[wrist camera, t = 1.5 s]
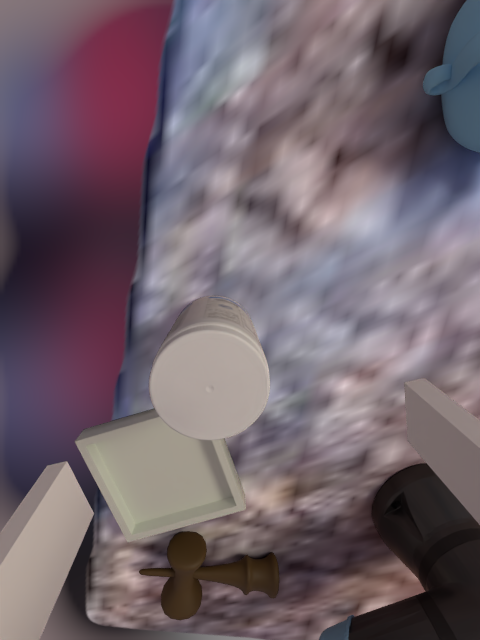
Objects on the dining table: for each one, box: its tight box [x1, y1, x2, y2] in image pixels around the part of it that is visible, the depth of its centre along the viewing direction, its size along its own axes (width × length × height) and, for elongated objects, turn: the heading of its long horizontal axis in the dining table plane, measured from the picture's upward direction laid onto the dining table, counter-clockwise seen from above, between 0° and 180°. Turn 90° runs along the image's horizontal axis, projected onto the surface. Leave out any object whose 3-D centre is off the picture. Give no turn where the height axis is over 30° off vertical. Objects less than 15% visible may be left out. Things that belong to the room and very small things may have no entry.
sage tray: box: [75, 409, 246, 542], centre depth 40 cm, size 17×17×2 cm
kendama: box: [139, 531, 279, 620], centre depth 44 cm, size 6×10×20 cm
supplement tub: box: [149, 296, 270, 440], centre depth 30 cm, size 10×10×15 cm
